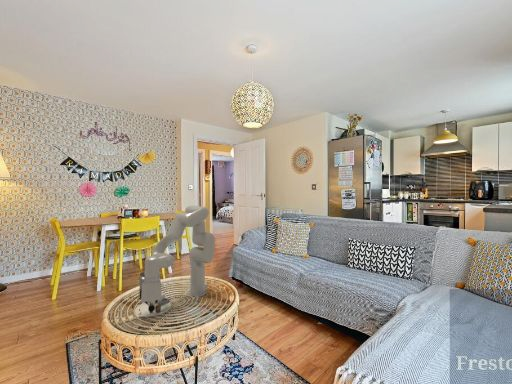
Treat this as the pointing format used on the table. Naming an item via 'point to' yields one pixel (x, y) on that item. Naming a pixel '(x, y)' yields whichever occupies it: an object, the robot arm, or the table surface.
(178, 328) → the table surface
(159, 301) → the lock button
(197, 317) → the table surface
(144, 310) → the dial plate
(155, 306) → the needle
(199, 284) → the robot arm
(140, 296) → the coffee box
